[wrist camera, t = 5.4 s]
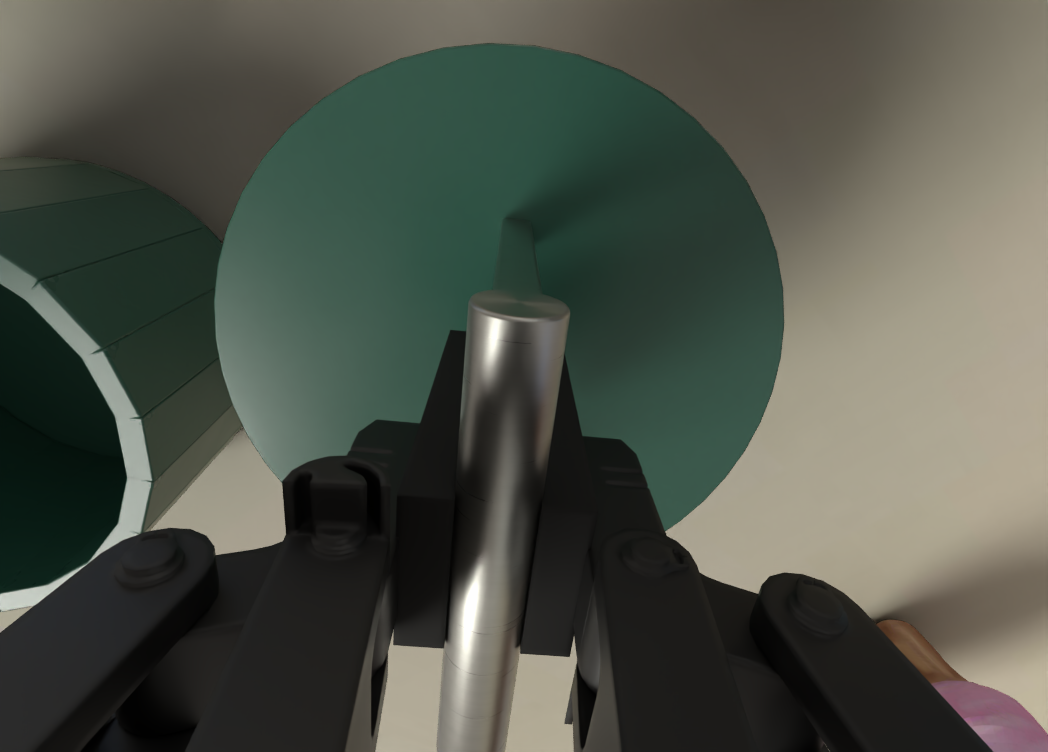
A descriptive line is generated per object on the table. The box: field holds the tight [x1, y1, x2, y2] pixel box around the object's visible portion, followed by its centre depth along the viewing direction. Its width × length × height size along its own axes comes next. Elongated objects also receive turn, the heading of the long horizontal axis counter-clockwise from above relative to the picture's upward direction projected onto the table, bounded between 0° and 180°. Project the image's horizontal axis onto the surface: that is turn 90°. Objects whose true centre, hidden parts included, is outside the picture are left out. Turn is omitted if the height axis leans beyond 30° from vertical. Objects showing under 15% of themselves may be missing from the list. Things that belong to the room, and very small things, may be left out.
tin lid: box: [214, 43, 784, 752], centre depth 12 cm, size 15×15×9 cm
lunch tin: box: [0, 157, 243, 612], centre depth 20 cm, size 14×14×9 cm
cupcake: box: [876, 620, 1048, 752], centre depth 29 cm, size 9×9×10 cm
